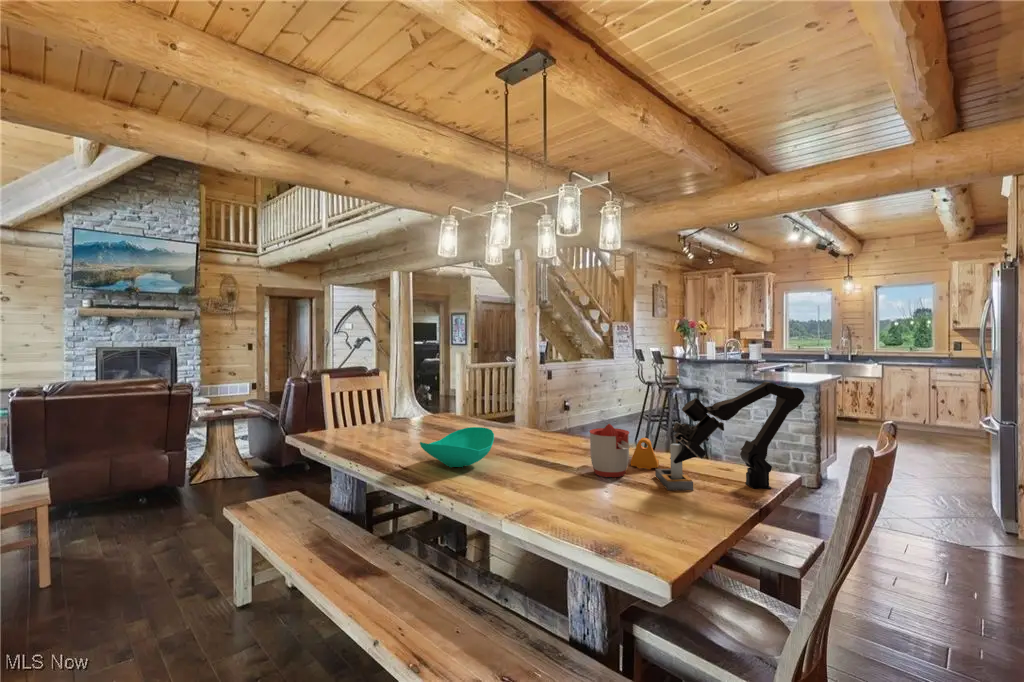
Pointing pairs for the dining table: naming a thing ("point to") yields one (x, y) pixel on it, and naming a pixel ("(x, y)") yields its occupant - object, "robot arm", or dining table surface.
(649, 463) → the bracket
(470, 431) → the table top decor
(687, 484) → the grey boxy holed piece
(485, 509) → the dining table surface
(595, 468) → the citrus juicer
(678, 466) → the peg
